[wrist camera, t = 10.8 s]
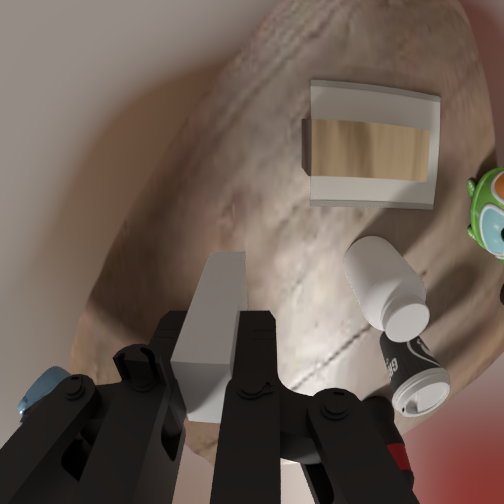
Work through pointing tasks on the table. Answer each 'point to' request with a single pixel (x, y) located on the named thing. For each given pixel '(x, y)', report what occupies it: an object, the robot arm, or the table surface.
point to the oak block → (364, 150)
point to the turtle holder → (488, 211)
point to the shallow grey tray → (383, 112)
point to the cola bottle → (389, 433)
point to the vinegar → (502, 295)
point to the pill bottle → (387, 288)
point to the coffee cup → (414, 376)
